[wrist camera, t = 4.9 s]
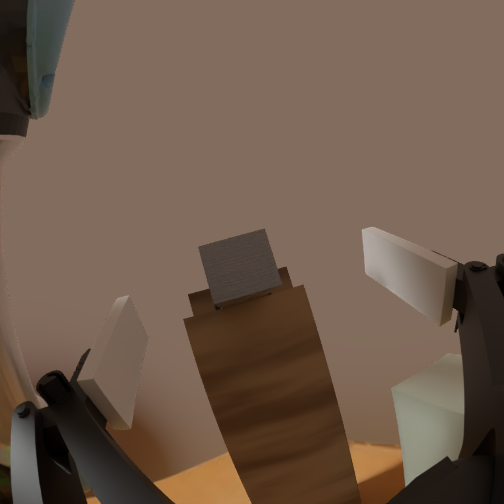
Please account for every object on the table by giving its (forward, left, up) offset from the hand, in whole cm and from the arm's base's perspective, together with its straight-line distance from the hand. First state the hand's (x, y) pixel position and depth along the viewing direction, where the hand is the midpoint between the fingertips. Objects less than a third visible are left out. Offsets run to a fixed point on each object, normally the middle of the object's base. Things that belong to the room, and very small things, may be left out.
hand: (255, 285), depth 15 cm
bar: (-8, +6, 0) cm, 10 cm away
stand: (-10, +8, -30) cm, 33 cm away
